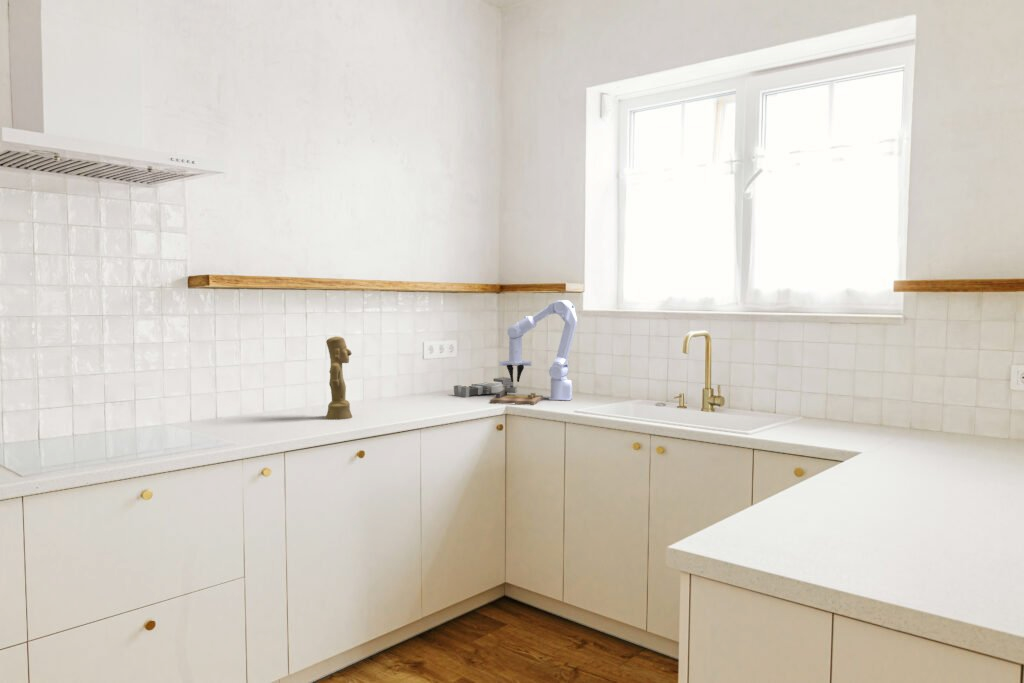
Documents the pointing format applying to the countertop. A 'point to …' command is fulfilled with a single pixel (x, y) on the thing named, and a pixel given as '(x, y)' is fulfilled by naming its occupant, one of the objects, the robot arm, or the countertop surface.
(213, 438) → the countertop surface
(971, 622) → the countertop surface
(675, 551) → the countertop surface
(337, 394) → the statue
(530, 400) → the brown wooden board
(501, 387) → the toy figure
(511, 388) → the knobbed plate
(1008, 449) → the countertop surface
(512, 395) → the yellow rectangular block
